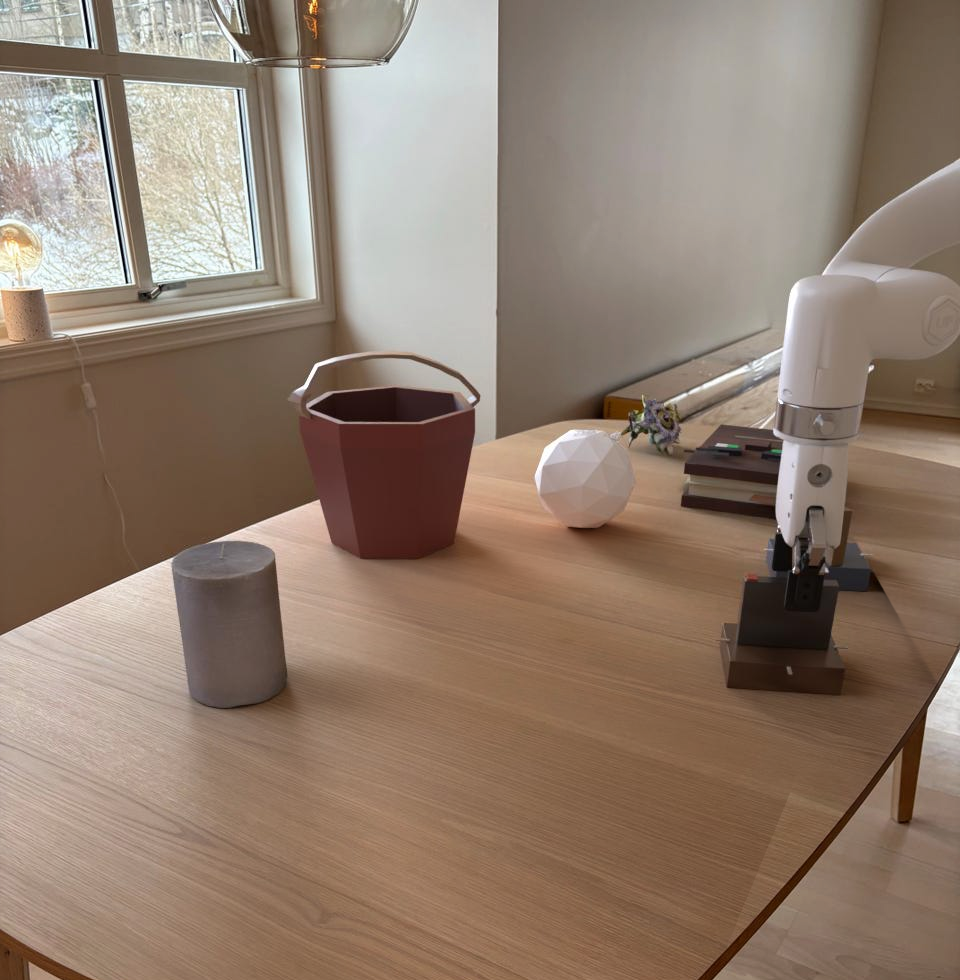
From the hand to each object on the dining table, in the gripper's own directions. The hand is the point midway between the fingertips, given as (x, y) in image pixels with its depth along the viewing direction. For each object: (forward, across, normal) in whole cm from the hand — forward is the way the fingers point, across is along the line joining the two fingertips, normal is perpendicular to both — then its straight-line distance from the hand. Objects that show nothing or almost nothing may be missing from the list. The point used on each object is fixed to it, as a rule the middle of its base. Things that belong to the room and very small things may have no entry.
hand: (793, 589), depth 98 cm
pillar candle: (+8, -11, +55) cm, 56 cm away
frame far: (+6, +27, -7) cm, 28 cm away
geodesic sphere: (+9, +42, +23) cm, 48 cm away
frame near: (+6, 0, +1) cm, 6 cm away
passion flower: (+10, +83, +13) cm, 84 cm away
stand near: (+9, 0, +1) cm, 9 cm away
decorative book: (+10, +62, -3) cm, 62 cm away
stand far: (+10, +27, -7) cm, 29 cm away
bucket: (+9, +33, +49) cm, 59 cm away
